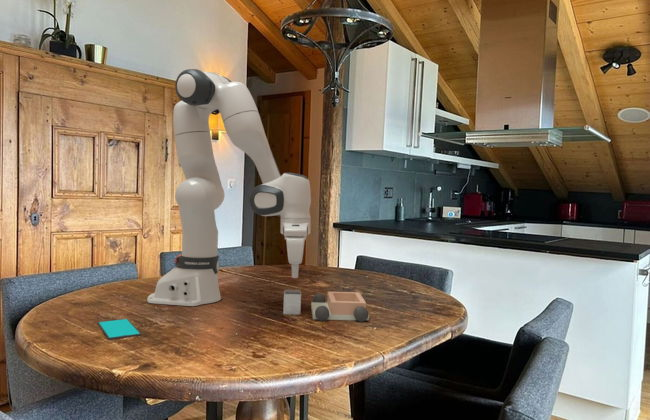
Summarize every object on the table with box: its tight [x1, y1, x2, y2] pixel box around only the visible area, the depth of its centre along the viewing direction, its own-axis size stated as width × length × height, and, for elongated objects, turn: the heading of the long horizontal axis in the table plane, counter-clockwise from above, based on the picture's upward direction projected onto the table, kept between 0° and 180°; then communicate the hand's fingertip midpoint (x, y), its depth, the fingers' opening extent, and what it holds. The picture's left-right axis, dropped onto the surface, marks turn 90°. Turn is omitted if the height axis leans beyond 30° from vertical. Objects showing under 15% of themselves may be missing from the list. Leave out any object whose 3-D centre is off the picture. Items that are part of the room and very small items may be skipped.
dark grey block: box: [282, 289, 302, 316], centre depth 138 cm, size 5×4×6 cm
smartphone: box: [97, 318, 142, 341], centre depth 115 cm, size 7×1×15 cm
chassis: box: [310, 291, 370, 323], centre depth 139 cm, size 16×17×5 cm
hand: (294, 274), depth 137 cm, fingers open, 8 cm apart
